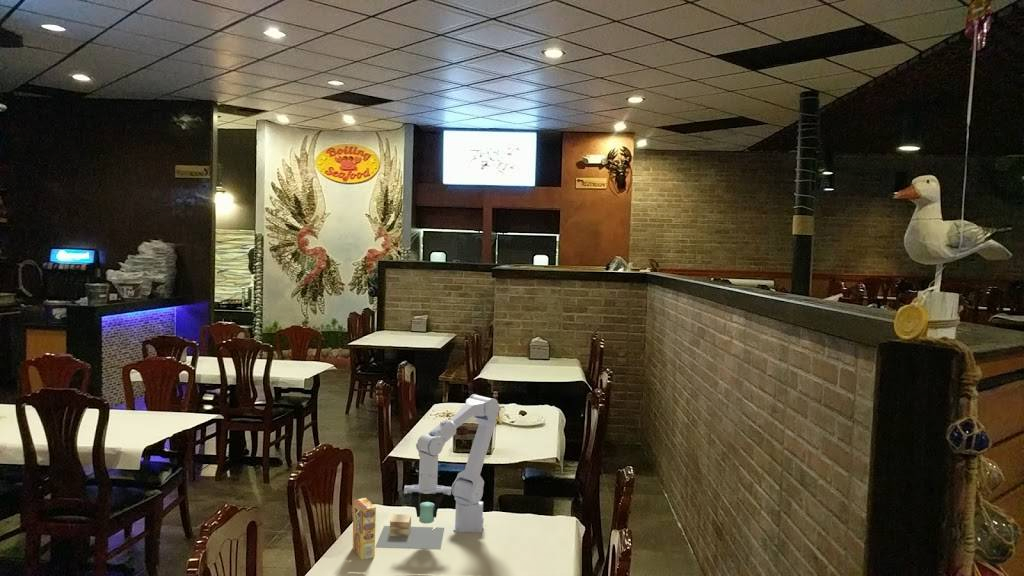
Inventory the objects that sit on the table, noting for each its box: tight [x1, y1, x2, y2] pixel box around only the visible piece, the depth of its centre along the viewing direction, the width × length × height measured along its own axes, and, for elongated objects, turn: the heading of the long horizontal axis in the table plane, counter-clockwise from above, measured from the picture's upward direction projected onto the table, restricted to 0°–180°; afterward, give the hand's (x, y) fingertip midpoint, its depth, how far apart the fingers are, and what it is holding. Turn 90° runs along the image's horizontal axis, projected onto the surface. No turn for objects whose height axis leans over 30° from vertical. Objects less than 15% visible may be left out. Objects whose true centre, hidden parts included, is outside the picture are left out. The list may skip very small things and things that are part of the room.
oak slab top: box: [389, 514, 412, 529], centre depth 206 cm, size 6×6×2 cm
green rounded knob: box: [418, 501, 435, 524], centre depth 199 cm, size 5×5×5 cm
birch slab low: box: [390, 522, 412, 536], centre depth 206 cm, size 6×6×2 cm
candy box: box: [352, 497, 377, 561], centre depth 191 cm, size 9×4×15 cm, turn 33°
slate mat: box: [375, 525, 445, 550], centre depth 203 cm, size 20×16×1 cm
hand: (426, 516), depth 199 cm, fingers closed on green rounded knob, 5 cm apart
